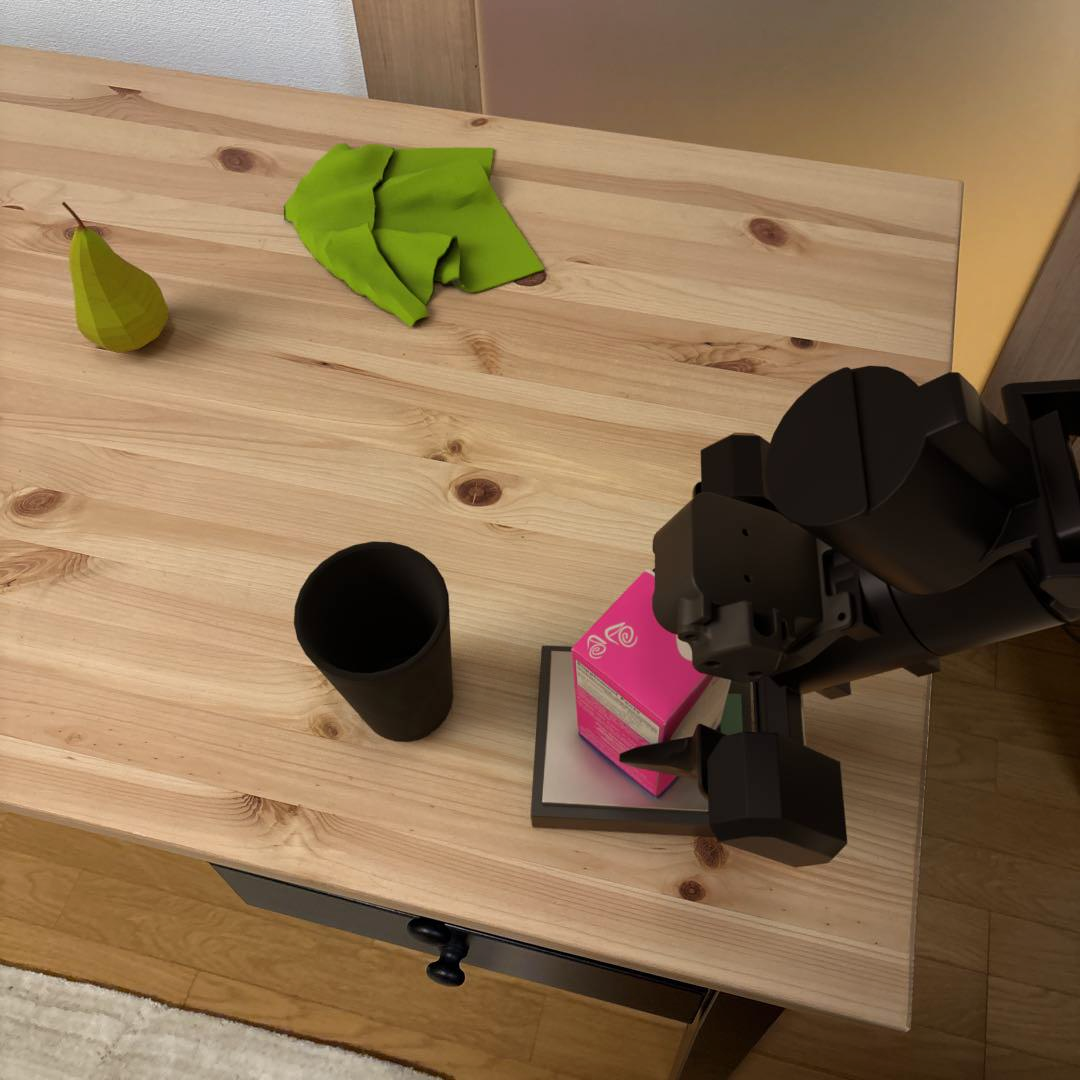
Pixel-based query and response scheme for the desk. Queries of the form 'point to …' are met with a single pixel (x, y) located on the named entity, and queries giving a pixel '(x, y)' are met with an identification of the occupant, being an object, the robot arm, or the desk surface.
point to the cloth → (408, 224)
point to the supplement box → (640, 684)
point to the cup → (381, 636)
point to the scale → (608, 767)
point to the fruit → (112, 295)
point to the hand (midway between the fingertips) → (626, 680)
